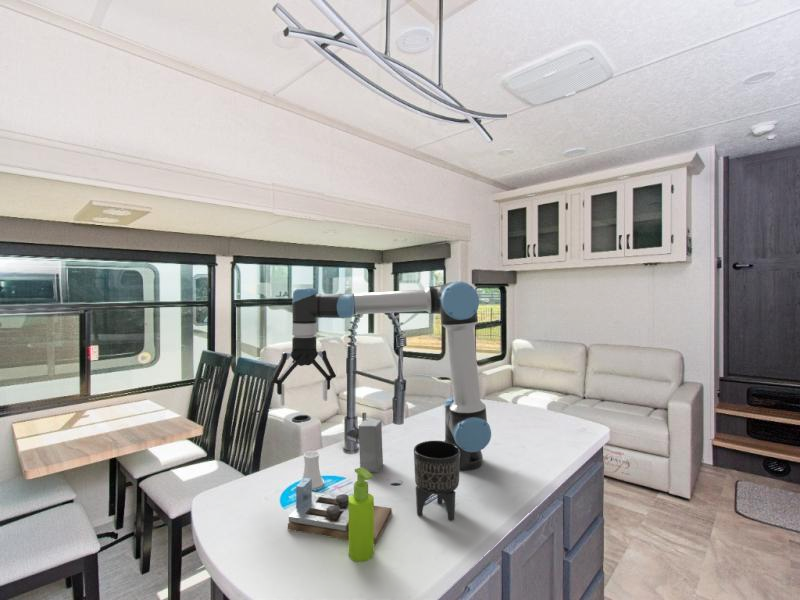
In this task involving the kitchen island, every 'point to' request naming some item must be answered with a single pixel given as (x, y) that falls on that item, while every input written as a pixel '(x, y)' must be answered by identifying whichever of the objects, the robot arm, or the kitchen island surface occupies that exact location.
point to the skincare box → (370, 445)
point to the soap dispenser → (361, 519)
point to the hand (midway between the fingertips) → (304, 402)
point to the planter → (436, 473)
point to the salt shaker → (313, 469)
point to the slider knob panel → (316, 508)
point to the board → (379, 518)
